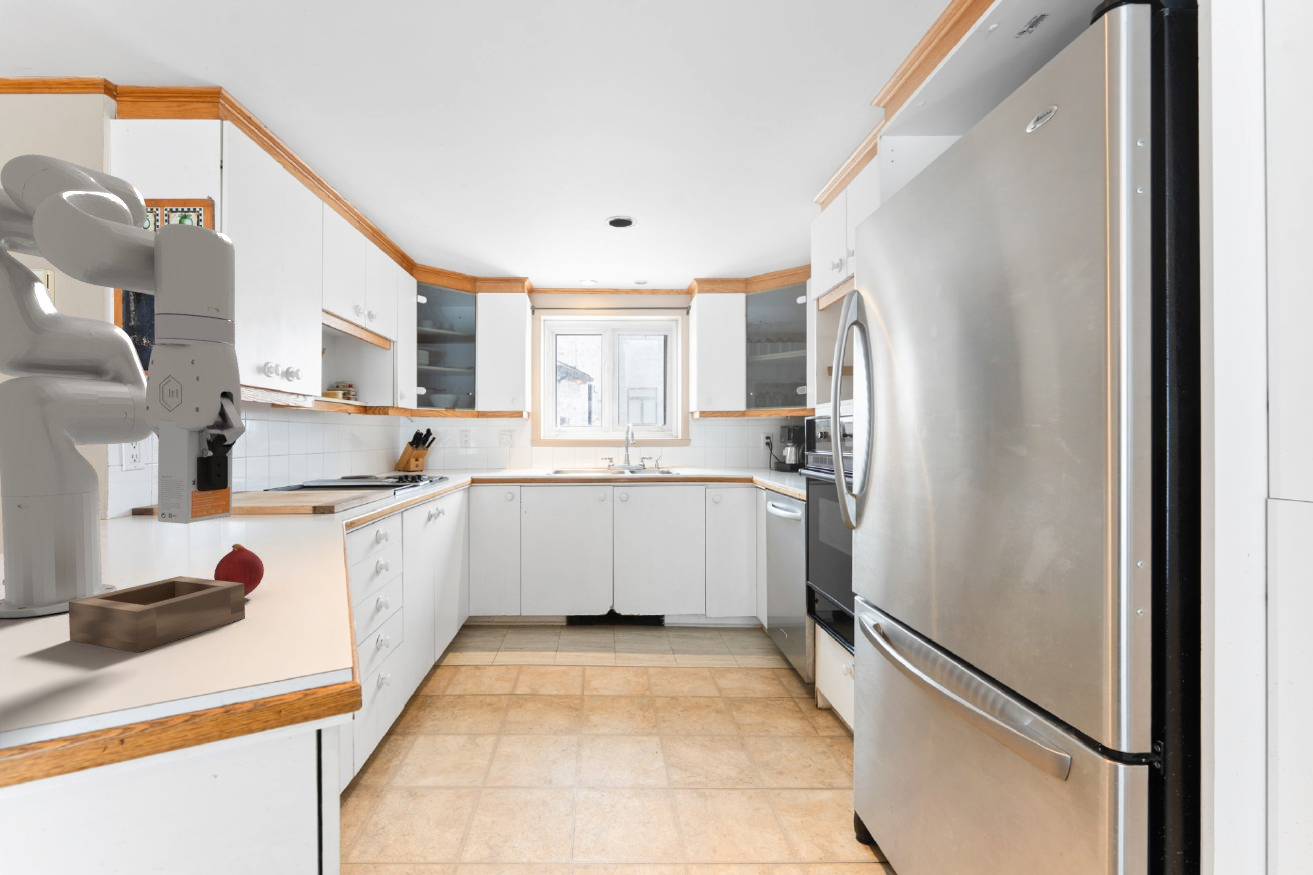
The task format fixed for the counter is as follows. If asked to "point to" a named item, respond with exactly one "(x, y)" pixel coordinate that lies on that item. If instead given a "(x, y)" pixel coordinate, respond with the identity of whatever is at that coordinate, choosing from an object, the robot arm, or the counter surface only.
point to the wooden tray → (155, 612)
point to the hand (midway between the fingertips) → (196, 486)
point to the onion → (240, 568)
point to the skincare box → (186, 479)
